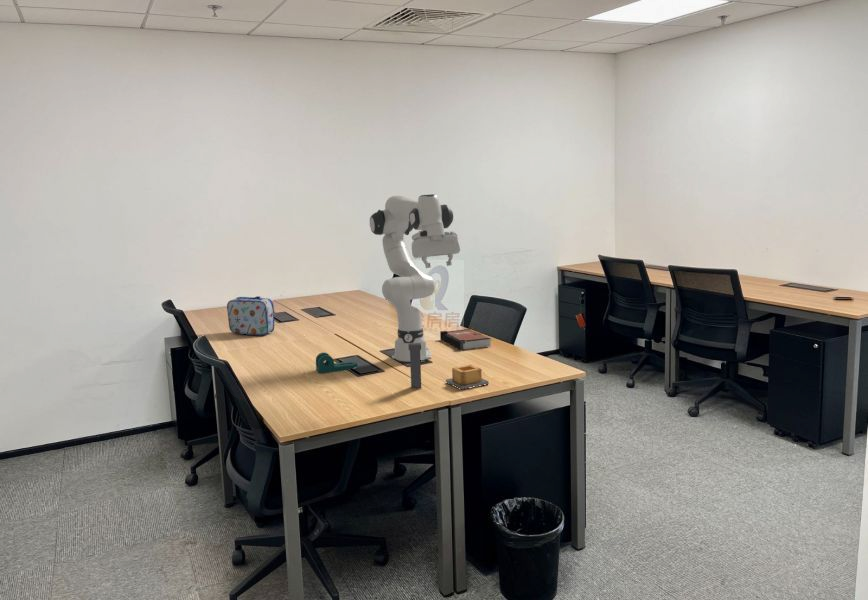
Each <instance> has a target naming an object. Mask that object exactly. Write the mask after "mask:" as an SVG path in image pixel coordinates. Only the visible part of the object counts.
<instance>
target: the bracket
mask: <svg viewBox="0 0 868 600" xmlns="http://www.w3.org/2000/svg"><path fill="white" fill-rule="evenodd" d="M354 367H357V368H358V362H356V361H343V362H335V361H334V358H333V357H332V356H331V355H330V354H329V353H327V352H320V353H318V355H317V356H316V357H315V369H316V372H317V371H318V372H317V373H318V374H320V375H322V374H327V373H328V374H329V373H330V374H331V373H337V371H338V372H343V371H344V370H345V371H350V370H349V369H351V368H354ZM345 371H344V372H345ZM321 373H322V374H321Z"/></svg>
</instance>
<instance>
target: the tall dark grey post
mask: <svg viewBox="0 0 868 600" xmlns="http://www.w3.org/2000/svg"><path fill="white" fill-rule="evenodd" d="M408 349H409V350H410V363H409V364H410V365H409V366H410V388H421V389H422V371H421V369H422V367H421V366H422V365H421V362H422V361H420V350H421V343H412V344H408Z"/></svg>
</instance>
